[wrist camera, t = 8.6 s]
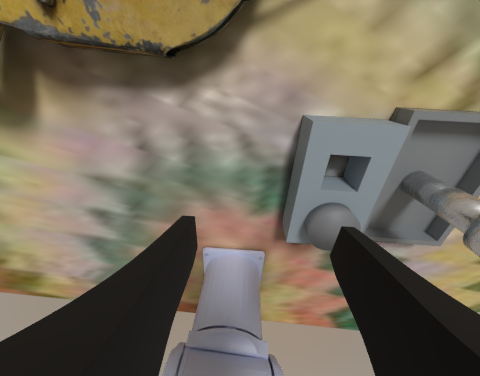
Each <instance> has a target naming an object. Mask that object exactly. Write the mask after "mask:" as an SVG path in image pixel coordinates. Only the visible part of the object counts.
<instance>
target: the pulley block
mask: <svg viewBox="0 0 480 376" xmlns="http://www.w3.org/2000/svg"><path fill="white" fill-rule="evenodd" d="M247 1H249V0H0V40H1V37H2V34H3V31H4V28H5V26H6V25H8V26H11V27H14V28H17V29H20V30H22V31H24V32H25V33H27V34H29V35H30V36H32V37H35V38H37V39H40V40H45V41H50V42H55V43H58V44H61V45H63V46H67V47H74V48H81V49H89V50H98V51H107V52H116V53H126V54H137V55H147V56H158V57H165V58H172V59H174V58H175V56H176V55H177V54H178V53H179V52H181V51H182V50H184V49H187V48H190V47H193V46H197V45H200V44H202V43H204V42H205V41H207V40H209V39H211V38H212V37H213V36H215V35H216V34H217V33H218V32H220V31H221V30H222V29H223V28H224V27H226V26H227V25H228V24H229V22H230V21H231V20H232V19H233V18H234V17H235V15H236V14H237V13H238V12H239V11H240V10H241V8H242V7H243V5H244V4H245V2H247Z"/></svg>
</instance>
